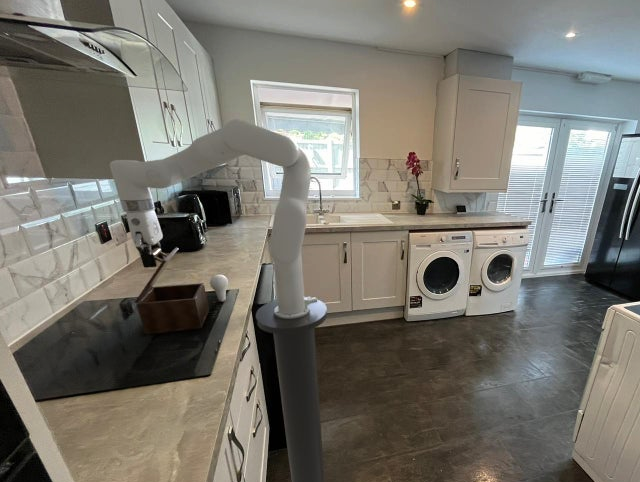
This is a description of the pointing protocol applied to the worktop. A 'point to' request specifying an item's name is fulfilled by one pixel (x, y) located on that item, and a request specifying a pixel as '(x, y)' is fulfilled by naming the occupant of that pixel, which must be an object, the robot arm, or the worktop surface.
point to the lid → (158, 272)
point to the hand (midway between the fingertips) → (154, 262)
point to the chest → (173, 308)
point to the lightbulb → (219, 286)
